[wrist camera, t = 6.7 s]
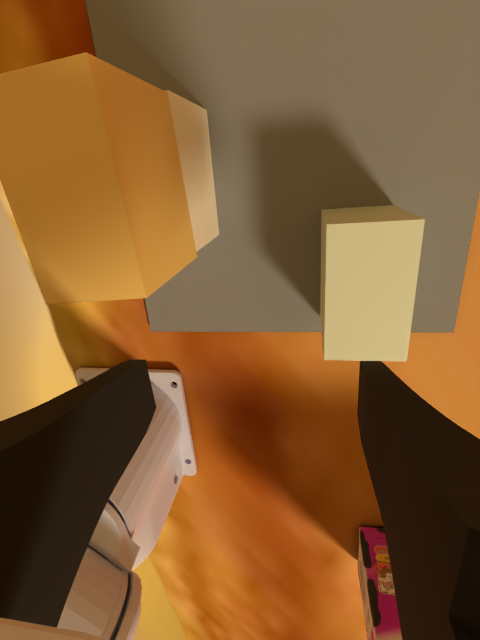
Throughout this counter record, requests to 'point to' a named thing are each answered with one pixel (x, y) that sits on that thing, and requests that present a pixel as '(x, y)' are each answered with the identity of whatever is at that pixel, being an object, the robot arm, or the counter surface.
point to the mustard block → (93, 179)
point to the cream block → (196, 167)
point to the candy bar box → (377, 586)
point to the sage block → (368, 281)
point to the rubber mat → (311, 141)
